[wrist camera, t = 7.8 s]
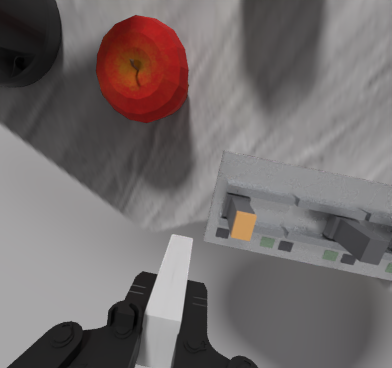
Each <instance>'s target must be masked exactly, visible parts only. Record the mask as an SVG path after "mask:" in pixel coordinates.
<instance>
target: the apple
mask: <svg viewBox="0 0 392 368" xmlns="http://www.w3.org/2000/svg"><path fill="white" fill-rule="evenodd" d="M188 71H189V70H188V64H187V59H186V53H185V49H184V47H183V45H182V43H181V42H180V40H179V38H178V36H177V35H176V33H175V31H174V30H173V29H171V28H170V27H168V26H167V25H165V24H164V23H162V22H160V21H159V20H157V19H155V18H149V17H144V16H138V15H135V16H132V17H130V18H128V19H126V20H123V21H121V22H119V23H117V24H115V25H114V26H113V27H112V28H111V29H110V31H109V32H108V33H107V34H106V35H105V36H104V37H103V40H102V42H101V45H100V48H99V51H98V54H97V65H96V74H97V77H98V81H99V84H100V88H101V91H102V95H103V96H104V97H105V98H106V100H107V101H108V102H109V103H110V105H111V106H112V107H113V108H114V109H115V110H116V111H117V112H119V113H120V114H122V115H123V116H125V117H127V118H128V119H130V120H134V121H139V122H144V123H149V122H152V121H155V120H158V119H161V118H164V117H166V116H168V115H172V114H173V113H174V112H176V111H177V110H178V109H180V108H181V106H182V105H183V103H184V101H185V100H186V98H187V93H188V86H189V85H188Z"/></svg>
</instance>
